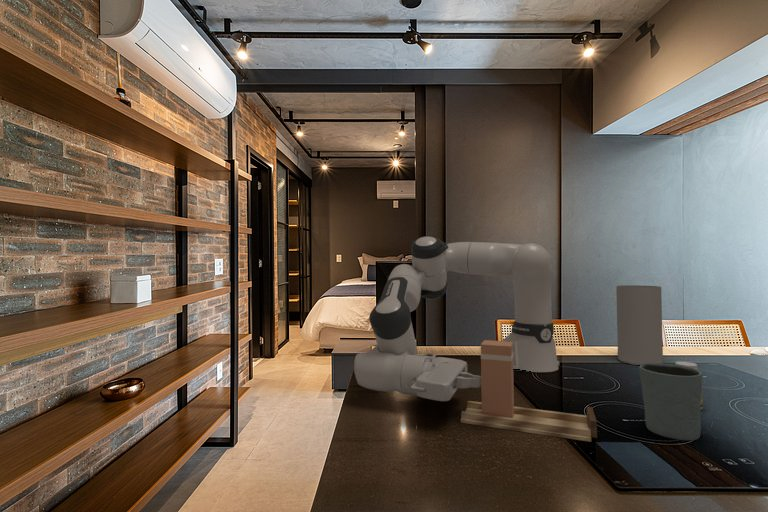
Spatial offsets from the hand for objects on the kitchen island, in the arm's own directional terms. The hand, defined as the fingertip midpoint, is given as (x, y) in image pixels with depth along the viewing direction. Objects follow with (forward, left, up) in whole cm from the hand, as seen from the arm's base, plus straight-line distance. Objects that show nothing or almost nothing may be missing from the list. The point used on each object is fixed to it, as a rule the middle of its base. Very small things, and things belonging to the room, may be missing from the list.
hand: (481, 381), depth 84 cm
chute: (+5, +7, -7) cm, 11 cm away
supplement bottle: (+9, +48, -8) cm, 49 cm away
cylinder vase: (-25, +75, -8) cm, 79 cm away
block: (+2, +3, -6) cm, 7 cm away
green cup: (+17, +32, -8) cm, 37 cm away
